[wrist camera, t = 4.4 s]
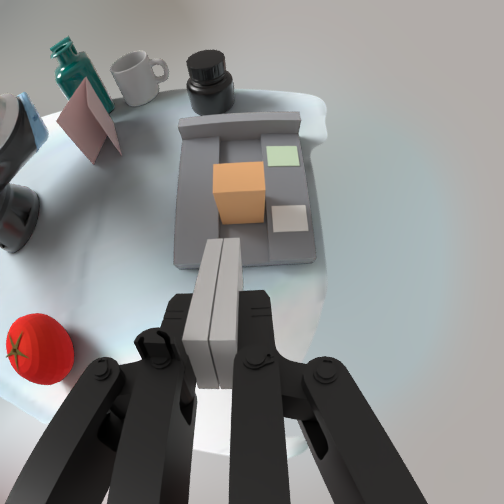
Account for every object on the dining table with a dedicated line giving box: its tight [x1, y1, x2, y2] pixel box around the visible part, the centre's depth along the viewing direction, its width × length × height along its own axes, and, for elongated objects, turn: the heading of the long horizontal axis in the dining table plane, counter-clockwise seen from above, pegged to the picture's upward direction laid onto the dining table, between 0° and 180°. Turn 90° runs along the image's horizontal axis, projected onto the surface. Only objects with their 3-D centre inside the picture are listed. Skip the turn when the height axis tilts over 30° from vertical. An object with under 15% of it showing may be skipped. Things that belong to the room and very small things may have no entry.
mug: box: [110, 51, 169, 106], centre depth 46 cm, size 12×8×11 cm
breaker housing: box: [173, 112, 316, 269], centre depth 40 cm, size 24×20×6 cm
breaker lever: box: [213, 161, 265, 225], centre depth 36 cm, size 4×6×10 cm, turn 93°
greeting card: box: [56, 77, 122, 165], centre depth 40 cm, size 11×7×15 cm, turn 172°
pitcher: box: [50, 36, 115, 114], centre depth 40 cm, size 10×8×22 cm
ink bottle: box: [186, 50, 235, 116], centre depth 44 cm, size 10×9×12 cm
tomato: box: [6, 313, 74, 385], centre depth 31 cm, size 12×12×13 cm
